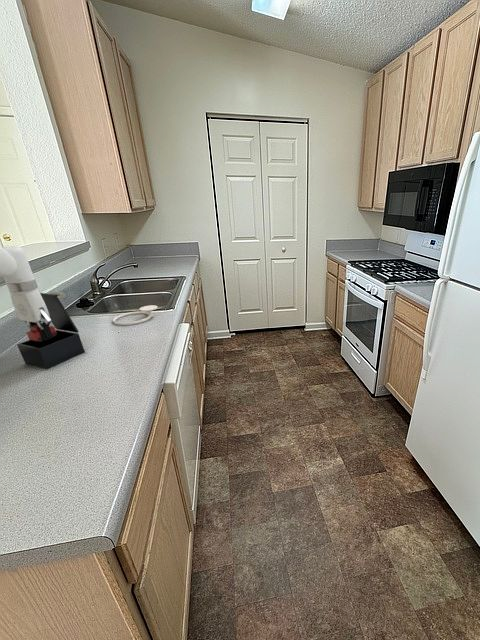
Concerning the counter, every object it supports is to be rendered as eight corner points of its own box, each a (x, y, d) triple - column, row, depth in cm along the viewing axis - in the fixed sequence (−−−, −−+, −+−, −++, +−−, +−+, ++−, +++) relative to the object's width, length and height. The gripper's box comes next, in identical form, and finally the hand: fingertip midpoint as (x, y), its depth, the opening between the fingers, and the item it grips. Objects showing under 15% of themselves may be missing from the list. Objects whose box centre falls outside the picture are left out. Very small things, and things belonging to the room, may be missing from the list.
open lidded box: (47, 369, 113) (38, 348, 110) (25, 364, 117) (16, 344, 114) (85, 352, 125) (78, 333, 122) (64, 348, 129) (57, 329, 126)
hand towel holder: (111, 308, 160) (156, 302, 167) (113, 316, 162) (158, 310, 169) (109, 318, 146) (159, 311, 154) (112, 327, 148) (161, 320, 156)
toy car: (37, 343, 113) (32, 329, 110) (30, 341, 114) (24, 327, 112) (57, 335, 119) (52, 322, 116) (50, 334, 120) (44, 321, 118)
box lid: (54, 295, 112) (67, 288, 116) (32, 292, 116) (45, 286, 119) (77, 332, 121) (88, 325, 125) (56, 329, 125) (67, 322, 129)
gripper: (-6, 287, 108) (17, 339, 116) (27, 291, 102) (49, 345, 110) (18, 282, 114) (38, 331, 122) (51, 285, 108) (70, 337, 117)
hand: (43, 337), depth 116 cm, fingers closed on toy car, 4 cm apart
